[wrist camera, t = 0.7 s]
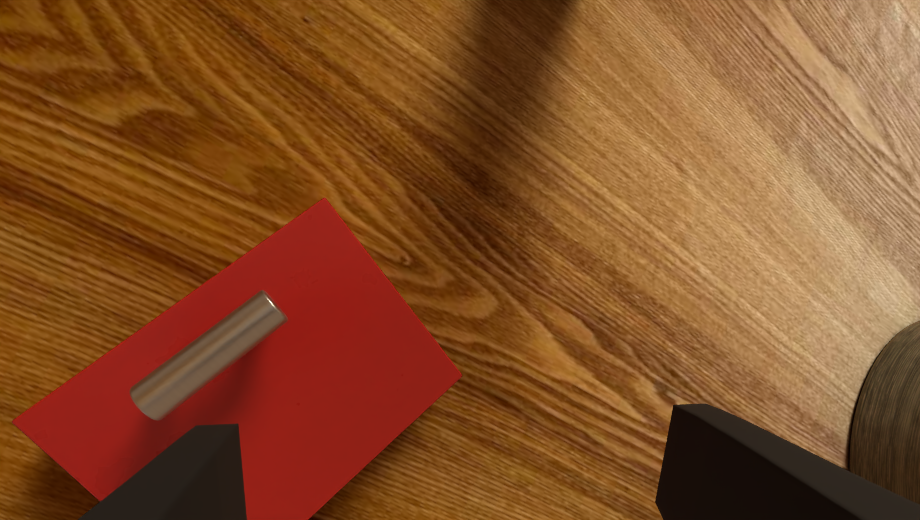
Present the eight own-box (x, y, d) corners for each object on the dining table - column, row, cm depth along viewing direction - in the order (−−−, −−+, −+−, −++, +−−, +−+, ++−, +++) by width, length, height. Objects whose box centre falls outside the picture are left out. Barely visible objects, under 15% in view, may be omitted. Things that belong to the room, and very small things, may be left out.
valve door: (17, 416, 18) (-51, 465, 14) (323, 198, 21) (338, 187, 17) (217, 597, 20) (207, 680, 16) (458, 373, 24) (497, 397, 20)
